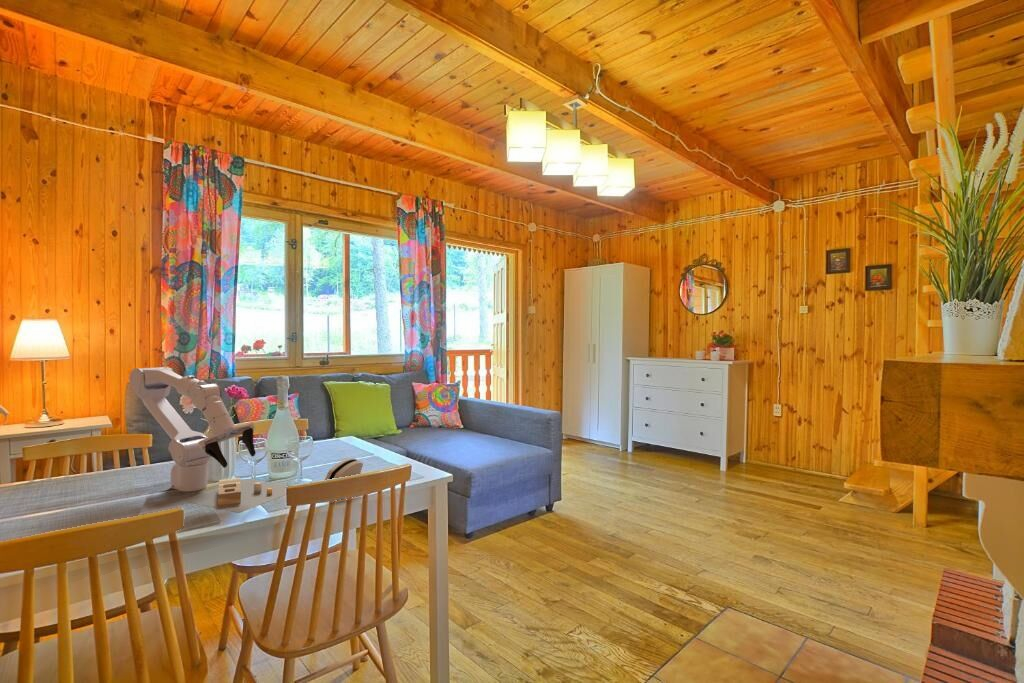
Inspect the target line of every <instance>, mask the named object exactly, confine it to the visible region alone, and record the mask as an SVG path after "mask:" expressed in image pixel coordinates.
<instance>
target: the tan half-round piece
mask: <svg viewBox="0 0 1024 683" xmlns="http://www.w3.org/2000/svg"><path fill="white" fill-rule="evenodd" d="M363 465H364V464H363V462H362V461H361V460H357V459H355V458H352V457H351V458H345V459H343V460H341V461H339V462H338V463H336V464H335V465H334V466H332V467H331V468H330V469H329V470H328V472H327V474H326V476H325V479H324V481H325V480H327V479H332V478H339V477H345V476H351V475H356V474H360V475H361V472H362V469H363Z"/></svg>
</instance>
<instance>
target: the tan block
mask: <svg viewBox="0 0 1024 683" xmlns="http://www.w3.org/2000/svg"><path fill="white" fill-rule="evenodd" d="M240 481H241V477H234V478H225V479H219V480H218V488H219V489H218V505H226V504H234V503H241V484H240Z"/></svg>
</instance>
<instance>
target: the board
mask: <svg viewBox="0 0 1024 683" xmlns="http://www.w3.org/2000/svg"><path fill="white" fill-rule="evenodd" d="M240 484H241V503H234V504H226V505H218V489H219V487H217V488H214V489H210V490H208V491H204V492H201V493H198V494H195V495H192V496H188V497H186V498H183V499H180V500H179V501H182V502H187V503H191V504H194V505H199V506H204V507H210V508H213V509H218V510H223V511H229V512H232V513H236V514H237V513H238V514H240V513H243V512H245V511H248V510H250V509H252V508H256V507H258V506H260V505H265V504H266V503H269V502H271V501H274V500H276V499H279V498H281V497H284V496H286V495H285V488H286V487H287V486H288V485H286V484H280V483H274V482H268V481H263V480H258V479H252V478H245V479H241V480H240Z"/></svg>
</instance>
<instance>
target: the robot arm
mask: <svg viewBox="0 0 1024 683" xmlns="http://www.w3.org/2000/svg"><path fill="white" fill-rule="evenodd" d="M195 377H196V376H195V375H186V376H182V375H180V374H178V373H176V372H174V371H173V368H172V367H168V366H160V367H142V368H141V367H140V368H139V367H135V368H133V369H131V371H130V373H129V387H130V388H131V389H132V391H133V392H134V393H135V394H136V396H137V397H138V398H139V399H141V401H142V403H143V405H144V406H145V408H146V409H147V411H148V412H149V413H150V414H151V415H152V417H153V418H154V419H155V421H157V423H158V424H159V426H160V427H161V428H162V429H163V431H165V433H166V434H167V435H168V437H170V439H171V441H170V442H169V445H168V448H167V449H168V452H169V453H170V455H171V458H172V461H173V462H174V464H173V465H172V467H171V469H170V489H175V490H178V491H179V492H180V491H181V492H195V491H200V490H203V489H206V488H207V487H208V462H209V461H211V457H212V459H214V460H216V462H218V463H219V464H220V465H221V466H222V468H224V469H225V468H227V467H228V462H227V460H226V458H225V456H224V454H223V452H222V450H221V447H220V445H219V443H222V442H224V441H227V440H230V439H232V438H236V437H238V436H241V442H243V444H244V445H245V447H246V448H247V450H248V453H249V455H250V456H251V457H255V456H256V449H255V446H254V431H255V429H256V427H255V425H254V423H253V422H251V423H247V424H242V425H237V426H236V425H235V423H234V421H233V419H232V417H231V415H230V413H229V411H228V409H227V407H226V405H225V403H224V402H223V399H222V398H223V389H222V387H221V386H220V385H219V384H218V383H217V382H212V383H207V382H206V381H205V380H200V379H198V378H195ZM171 387H172V388H175V390H176V392H177V394H180V395H182V396H183V397H187V398H188V399H190V402H191V403H192V404H193V406H196V407H197V409H198V410H199V411H201V413H202V414H203V416H204V418H205V420H206V423H207V424H208V427H209V428H210V429H211V430H210V431H211V432H212V433H213V435H210V436H206V435H205V434H204V433H203V432H200V431H196V430H192V429H191V428H190V426H189V425H188V424H187V423H186V421H185V420H184V419H183V418H182V416H181V415H180V414H179V413H178V412H177V410H175V408H174V407H173V406H172V405H171V403H170V402H169V401H168V399H167V398H166V397H168V396H169V395H170V394H171V393H170V392H171Z"/></svg>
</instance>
